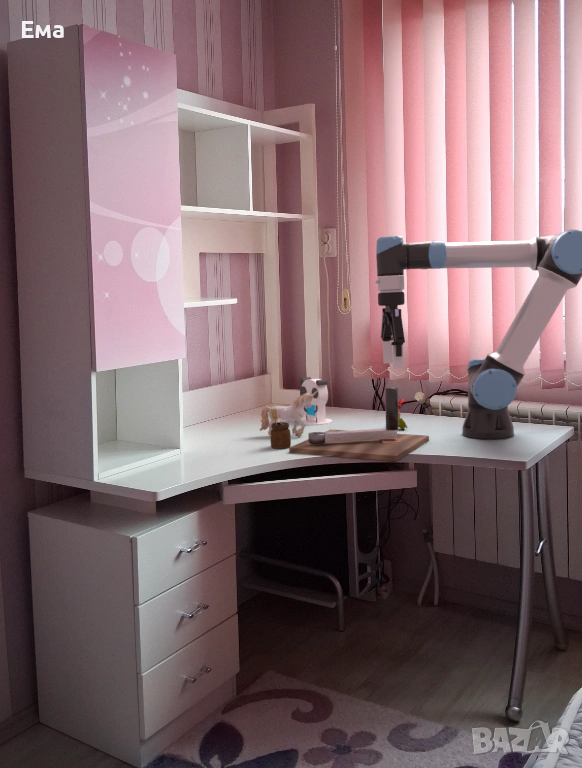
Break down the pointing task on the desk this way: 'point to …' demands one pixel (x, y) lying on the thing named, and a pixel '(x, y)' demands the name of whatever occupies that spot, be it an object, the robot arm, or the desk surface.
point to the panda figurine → (315, 401)
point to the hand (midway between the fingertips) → (393, 365)
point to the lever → (370, 434)
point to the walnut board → (364, 447)
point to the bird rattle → (400, 421)
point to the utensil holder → (280, 433)
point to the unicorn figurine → (288, 413)
